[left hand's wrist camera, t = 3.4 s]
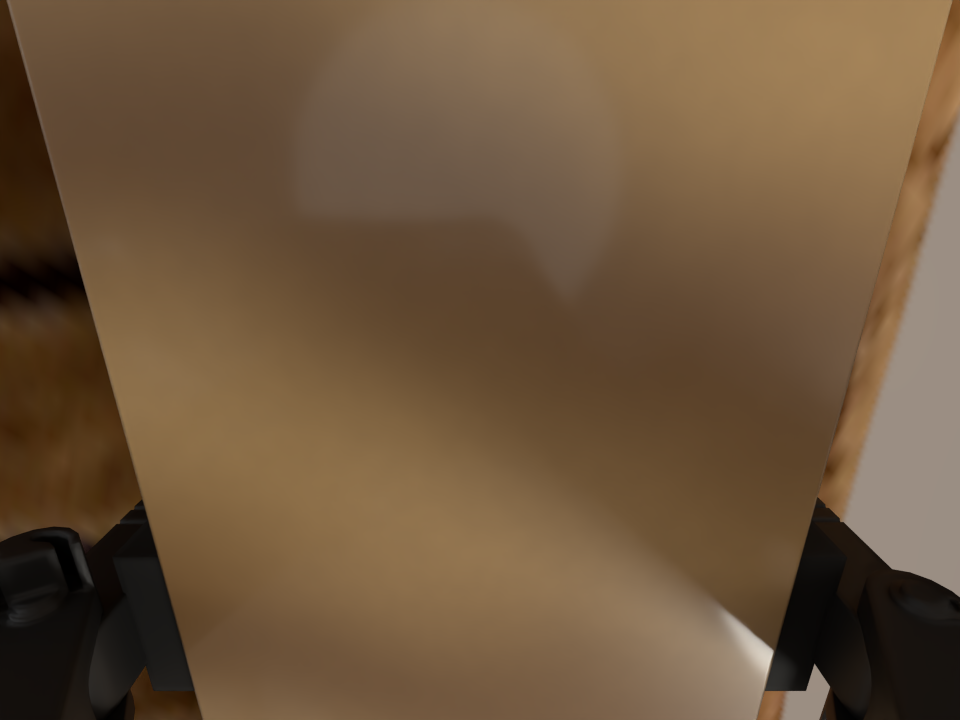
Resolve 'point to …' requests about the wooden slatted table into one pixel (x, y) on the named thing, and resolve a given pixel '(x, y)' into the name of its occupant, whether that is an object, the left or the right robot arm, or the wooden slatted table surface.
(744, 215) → the long beam
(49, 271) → the wooden slatted table surface
